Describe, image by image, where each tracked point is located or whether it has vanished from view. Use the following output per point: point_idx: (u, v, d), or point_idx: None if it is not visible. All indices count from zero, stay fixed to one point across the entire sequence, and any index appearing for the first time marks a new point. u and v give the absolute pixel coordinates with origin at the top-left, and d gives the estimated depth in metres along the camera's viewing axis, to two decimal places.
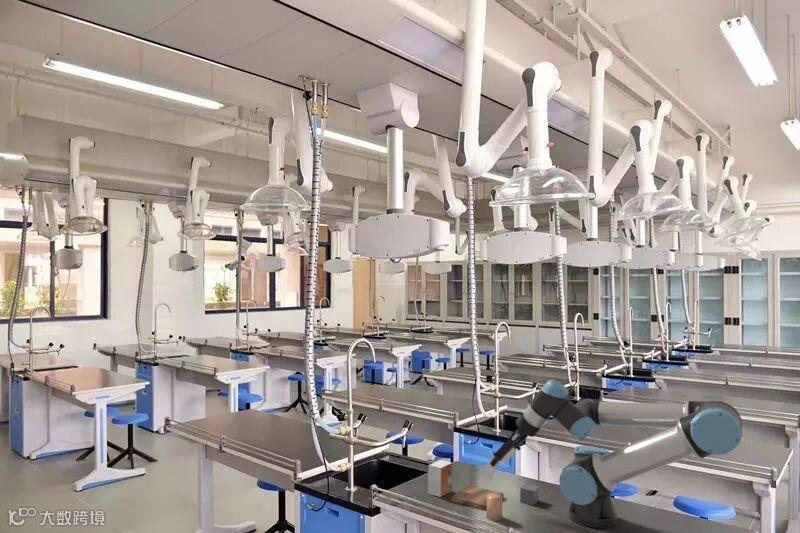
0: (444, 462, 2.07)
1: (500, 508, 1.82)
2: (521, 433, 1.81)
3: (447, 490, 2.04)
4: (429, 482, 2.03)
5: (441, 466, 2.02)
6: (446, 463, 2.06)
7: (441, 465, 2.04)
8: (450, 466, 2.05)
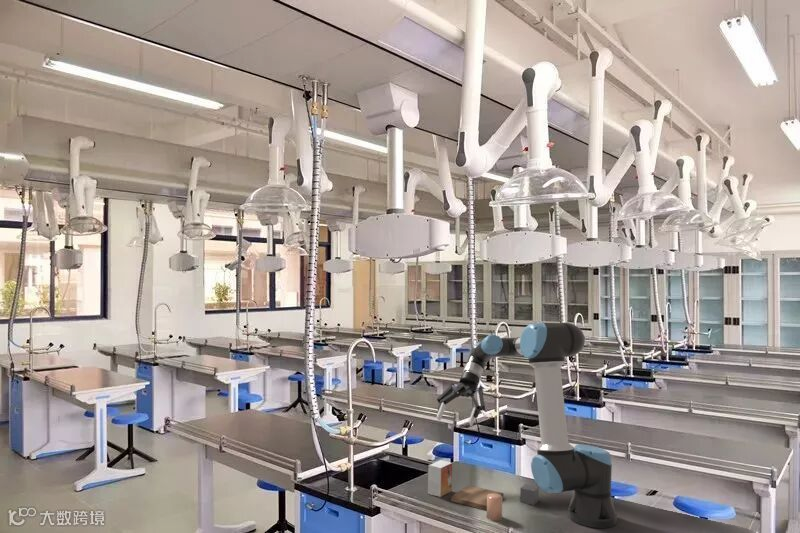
0: (444, 462, 2.07)
1: (500, 508, 1.82)
2: None
3: (447, 490, 2.04)
4: (429, 482, 2.03)
5: (441, 466, 2.02)
6: (446, 463, 2.06)
7: (441, 465, 2.04)
8: (450, 466, 2.05)
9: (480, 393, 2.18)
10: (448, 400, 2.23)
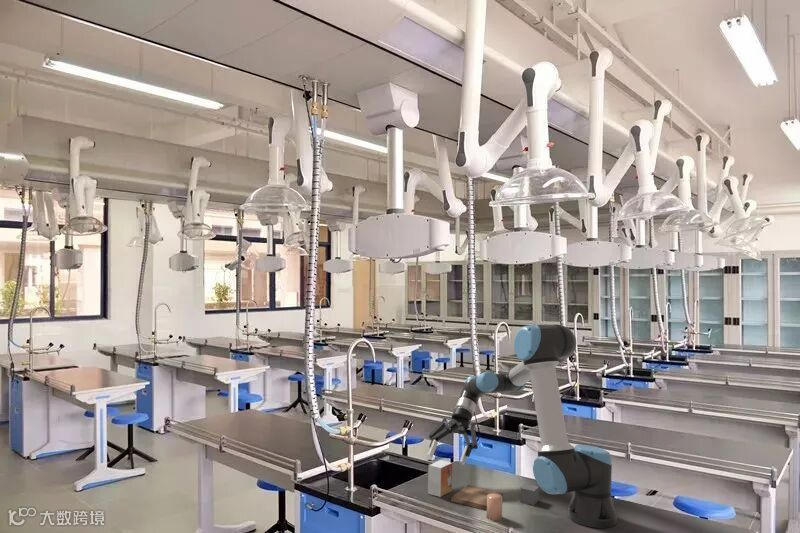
0: (444, 462, 2.07)
1: (500, 508, 1.82)
2: None
3: (447, 490, 2.04)
4: (429, 482, 2.03)
5: (441, 466, 2.02)
6: (446, 463, 2.06)
7: (441, 465, 2.04)
8: (450, 466, 2.05)
9: (472, 430, 2.14)
10: (440, 437, 2.19)
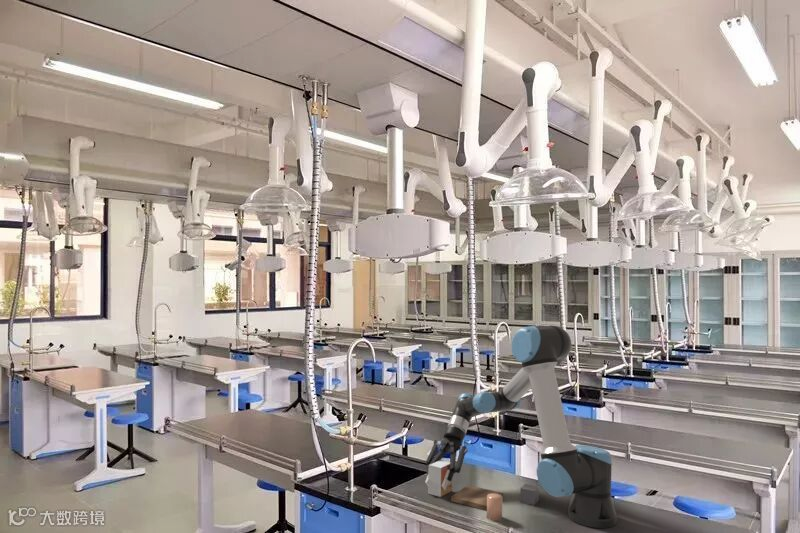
0: (444, 462, 2.07)
1: (500, 508, 1.82)
2: None
3: (447, 490, 2.04)
4: (429, 482, 2.03)
5: (441, 466, 2.02)
6: (446, 463, 2.06)
7: (441, 465, 2.04)
8: None
9: (461, 453, 2.07)
10: None
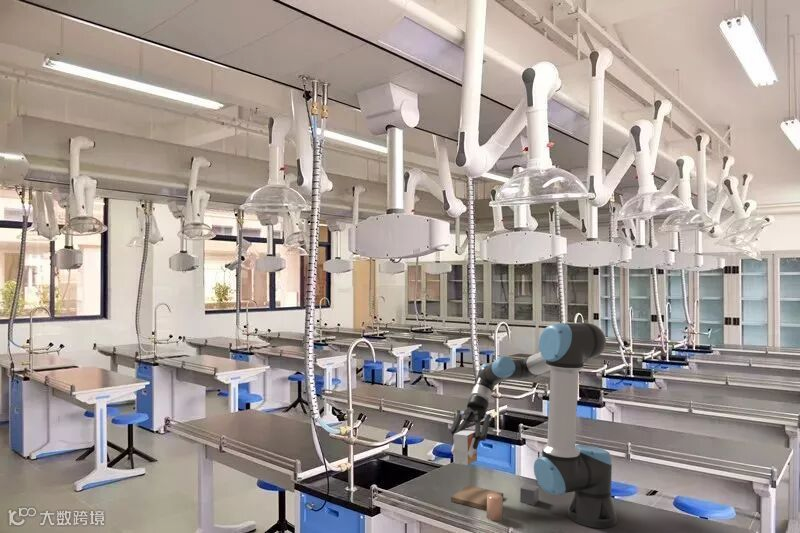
0: (468, 431, 2.04)
1: (500, 508, 1.82)
2: None
3: (473, 459, 2.01)
4: (455, 451, 2.00)
5: (467, 434, 1.99)
6: (471, 431, 2.03)
7: (467, 433, 2.01)
8: None
9: (486, 421, 2.04)
10: (461, 430, 2.06)
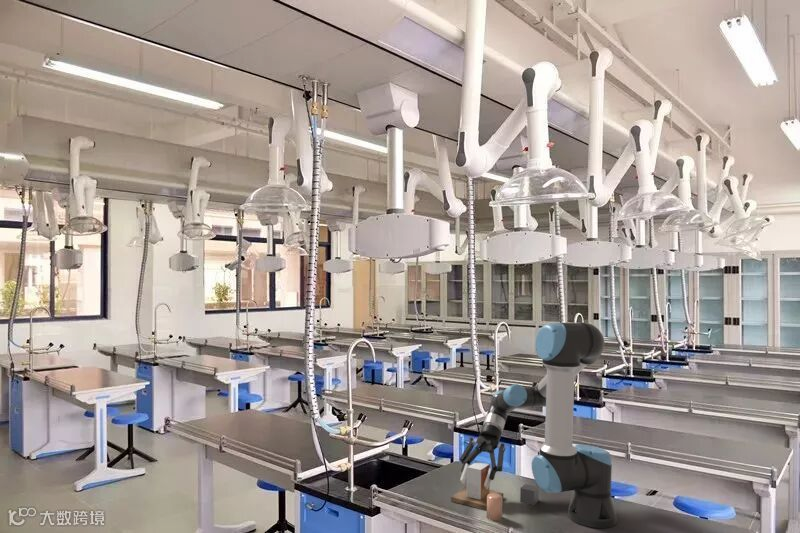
0: (481, 464, 2.01)
1: (500, 508, 1.82)
2: None
3: (486, 492, 1.99)
4: (468, 485, 1.97)
5: (480, 468, 1.97)
6: (484, 465, 2.00)
7: (480, 466, 1.98)
8: (488, 467, 2.00)
9: (500, 451, 2.01)
10: (471, 459, 2.04)
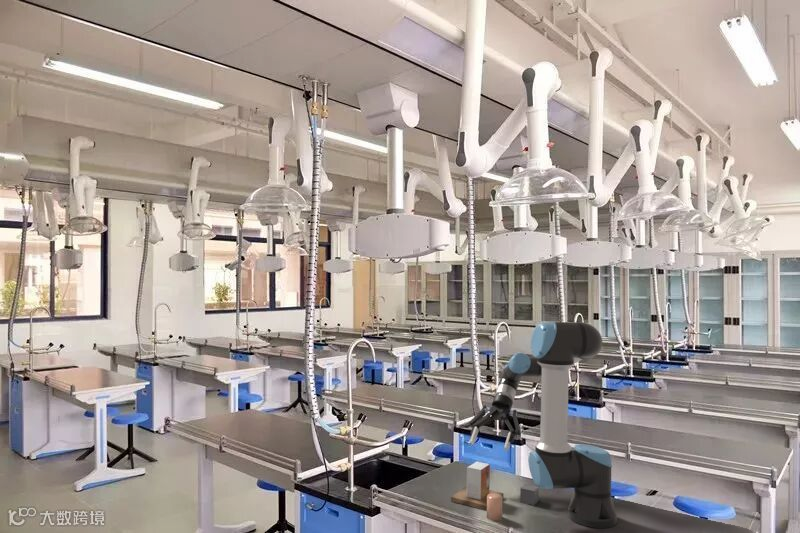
0: (481, 464, 2.01)
1: (500, 508, 1.82)
2: None
3: (486, 492, 1.99)
4: (468, 485, 1.97)
5: (480, 468, 1.97)
6: (484, 465, 2.00)
7: (480, 466, 1.98)
8: (488, 467, 2.00)
9: (515, 417, 2.12)
10: (481, 424, 2.16)
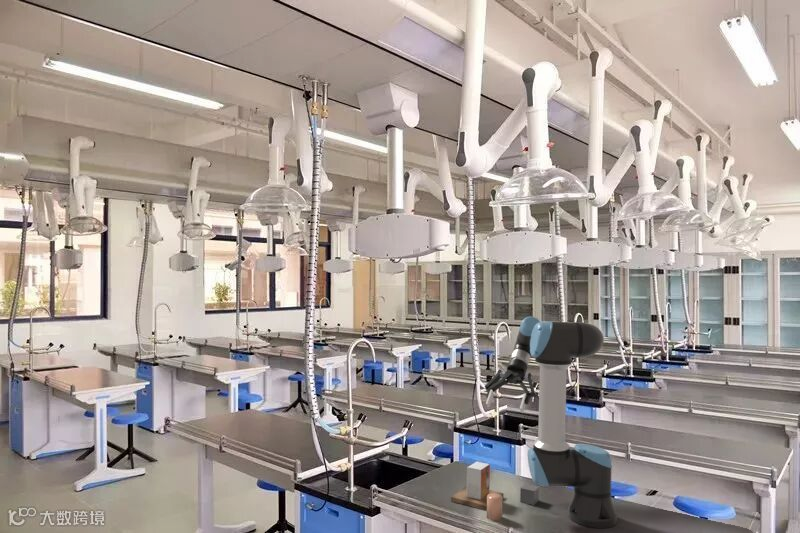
0: (481, 464, 2.01)
1: (500, 508, 1.82)
2: None
3: (486, 492, 1.99)
4: (468, 485, 1.97)
5: (480, 468, 1.97)
6: (484, 465, 2.00)
7: (480, 466, 1.98)
8: (488, 467, 2.00)
9: (530, 380, 2.16)
10: (496, 387, 2.21)
